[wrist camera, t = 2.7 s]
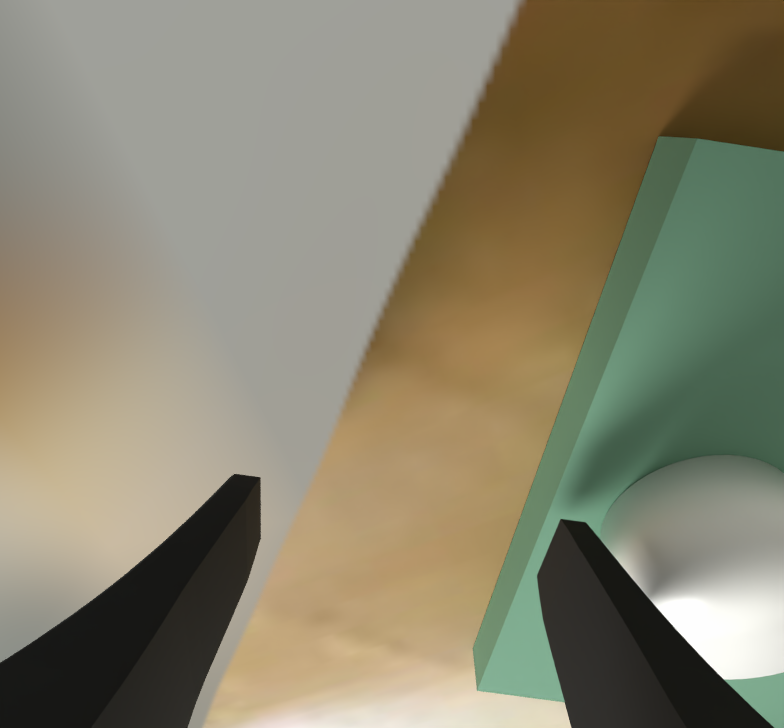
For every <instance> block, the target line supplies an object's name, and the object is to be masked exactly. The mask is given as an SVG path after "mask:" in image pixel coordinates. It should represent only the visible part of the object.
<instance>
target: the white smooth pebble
mask: <svg viewBox="0 0 784 728" xmlns="http://www.w3.org/2000/svg"><path fill="white" fill-rule="evenodd" d="M600 540H601V541H602V542H603V543H604V545H605V546H606V547H607V548H608V550H609V551H610V552H611V553H612V555H613V556H614V557H615V558H616V559H617V561H618V562H619V563H620V564H621V566H622V567H623V568H624V569H625V570H626V572H627V573H628V574H629V575H630V577H631V578H632V579H633V580H634V581H635V583H636V584H637V585H638V586H639V587H640V589H641V590H642V591H643V592H644V593H645V594H646V596H647V597H648V598H649V599H650V600H651V601H652V603H653V604H654V605H655V606H656V607H657V608H658V610H659V611H660V612H661V613H662V614H663V615H664V616H665V617H666V619H667V620H668V621H669V622H670V623H671V624H672V625H673V627H674V628H675V629H676V630H677V631H678V632H679V633H680V634H681V635H682V636H683V637H684V638H685V640H686V641H687V642H688V643H689V644H690V645H691V646H692V647H693V648H694V649H695V650H696V651H697V652H698V654H699V655H700V656H701V657H702V658H703V659H704V660H705V661H706V662H707V663H708V664H709V665H710V666H711V667H712V668H713V669H714V670H715V671H716V672H717V673H718V674H719V675H720V676H721V677H722V678H723V679H727V680H732V679H748V678H757V677H764V676H769V675H775V674H779V673H783V672H784V473H783V472H781V471H780V470H779V469H777V468H776V467H774V466H772V465H770V464H768V463H766V462H763V461H760V460H757V459H754V458H749V457H745V456H736V455H711V456H702V457H696V458H691V459H687V460H683V461H680V462H676V463H673V464H671V465H668V466H665V467H663V468H660V469H658V470H656V471H654V472H652V473H650V474H648V475H647V476H645V477H643V478H642V479H640V480H639V481H637V482H636V483H634V484H633V485H632V486H630V487H629V488H628V489H627V490H626V491H625V492H624V493H623V494H621V495H620V496H619V497H618V499H617V500H616V501H615V502H614V503H613V505H612V506H611V508H610V509H609V511H608V512H607V514H606V516H605V519H604V521H603V523H602V527H601V532H600Z"/></svg>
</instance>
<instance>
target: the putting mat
mask: <svg viewBox="0 0 784 728" xmlns="http://www.w3.org/2000/svg"><path fill="white" fill-rule="evenodd" d="M711 455H736V456H745V457H749V458H754V459H757V460H760V461H763V462H766V463H768V464H770V465H772V466H774V467H776V468H777V469H779V470H780V471H781V472H783V473H784V152H783V151H776V150H770V149H763V148H756V147H750V146H743V145H737V144H730V143H724V142H717V141H710V140H704V139H697V138H680V137H662V136H659V137H658V140H657V143H656V145H655V148H654V151H653V154H652V156H651V159H650V162H649V165H648V167H647V170H646V173H645V176H644V178H643V181H642V184H641V187H640V189H639V192H638V195H637V198H636V200H635V203H634V206H633V209H632V211H631V214H630V217H629V220H628V222H627V225H626V228H625V231H624V234H623V236H622V239H621V242H620V245H619V247H618V250H617V253H616V256H615V258H614V261H613V264H612V267H611V269H610V272H609V275H608V278H607V280H606V283H605V286H604V289H603V291H602V294H601V297H600V300H599V302H598V305H597V308H596V311H595V313H594V316H593V319H592V322H591V324H590V327H589V330H588V333H587V335H586V338H585V341H584V344H583V346H582V349H581V352H580V355H579V358H578V360H577V363H576V366H575V369H574V371H573V374H572V377H571V380H570V382H569V385H568V388H567V391H566V393H565V396H564V399H563V402H562V404H561V407H560V410H559V413H558V415H557V418H556V421H555V424H554V426H553V429H552V432H551V435H550V437H549V440H548V443H547V446H546V448H545V451H544V454H543V457H542V459H541V462H540V465H539V468H538V470H537V473H536V476H535V479H534V482H533V484H532V487H531V490H530V493H529V495H528V498H527V501H526V504H525V506H524V509H523V512H522V515H521V517H520V520H519V523H518V526H517V528H516V531H515V534H514V537H513V539H512V542H511V545H510V548H509V550H508V553H507V556H506V559H505V561H504V564H503V567H502V570H501V572H500V575H499V578H498V581H497V583H496V586H495V589H494V592H493V594H492V597H491V600H490V603H489V606H488V608H487V611H486V614H485V617H484V619H483V622H482V625H481V628H480V630H479V633H478V636H477V639H476V641H475V644H474V647H473V655H474V665H475V675H476V684H477V691H483V692H491V693H499V694H506V695H514V696H521V697H529V698H536V699H544V700H552V701H559V702H565V701H564V698H563V694H562V690H561V686H560V683H559V679H558V675H557V672H556V668H555V664H554V661H553V657H552V653H551V649H550V645H549V641H548V638H547V634H546V630H545V626H544V622H543V616H542V610H541V604H540V597H539V589H538V582H537V574H538V572H539V569H540V567H541V565H542V562H543V560H544V557H545V555H546V553H547V550H548V548H549V545H550V543H551V541H552V538H553V536H554V533H555V531H556V529H557V526H558V524H559V521H560V519H566V520H573V521H581V522H586V523H587V524H588V525H589V527H590V528H591V529H592V530H593V531H594V532H595V534H596V535H597V536H598V537H599V539H600V532H601V527H602V523H603V521H604V519H605V516H606V514H607V512H608V511H609V509H610V508H611V506H612V505H613V503H614V502H615V501H616V500H617V499H618V497H619V496H620V495H621V494H623V493H624V492H625V491H626V490H627V489H628V488H629V487H630V486H632V485H633V484H634V483H636V482H637V481H639V480H640V479H642V478H643V477H645V476H647V475H648V474H650V473H652V472H654V471H656V470H658V469H660V468H663V467H665V466H668V465H671V464H673V463H676V462H680V461H683V460H687V459H691V458H696V457H702V456H711ZM724 680H725V681H726V682H727V683H728V684H729V685H730V686H731V687H732V688H733V689H734V690H735V691H736V692H737V693H738V694H739V695H740V696H741V697H742V698H743V699H744V700H745V701H747V702H748V703H749V704H750V705H751V706H752V707H753V708H754V709H755V710H756V711H757V712H758V713H759V714H760V715H761V716H762V717H763V718H765V719H766V720H767V721H768V722H769V723H770V724H771V725H772V726H773V727H774V728H784V672H783V673H779V674H775V675H769V676H764V677H757V678H748V679H732V680H727V679H724Z"/></svg>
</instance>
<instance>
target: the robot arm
mask: <svg viewBox="0 0 784 728" xmlns="http://www.w3.org/2000/svg"><path fill="white" fill-rule="evenodd" d="M260 502H261V501H260V477H254V476H246V475H239V474H234V475H233V476H231V477H230V478H229V479H228V480H227V481H226V482H225V483H224V484H223V485H222V486H221V487H220V488H219V489H218V490H217V491H216V493H214V494H213V495H212V496H211V497H210V498H209V499H208V500H207V501H206V502H205V503H204V504H203V505H202V506H201V507H200V508H199V509H198V510H197V511H196V512H195V513H194V514H193V515H192V516H191V517H190V518H189V519H188V520H187V521H186V522H185V523H184V524H182V525H181V526H180V527H179V528H178V529H177V530H176V531H175V532H174V533H173V534H172V535H171V536H169V537H168V538H167V539H166V540H165V541H164V542H163V543H162V544H161V545H160V546H158V547H157V548H156V549H155V550H154V551H152V552H151V553H150V554H149V555H148V556H147V557H145V558H144V559H143V560H142V561H141V562H139V563H138V564H137V565H136V566H135V567H134V568H132V569H131V570H130V571H129V572H128V573H127V574H125V575H124V576H123V577H122V578H120V579H119V580H118V581H116V582H115V583H114V584H113V585H111V586H110V587H109V588H108V589H106V590H105V591H104V592H102V593H101V594H100V595H98V596H97V597H96V598H94V599H93V600H92V601H90V602H89V603H88V604H86V605H85V606H84V607H82V608H81V609H79V610H78V611H77V612H75V613H74V614H73V615H71V616H70V617H68V618H67V619H66V620H64V621H63V622H61V623H60V624H58V625H57V626H55V627H54V628H52V629H51V630H49V631H48V632H47V633H45V634H44V635H42V636H41V637H39V638H38V639H37V640H35V641H33V642H32V643H30V644H29V645H27V646H26V647H24V648H23V649H21V650H20V651H18V652H16V653H15V654H13V655H12V656H10V657H9V658H7V659H5V660H4V661H2V662H1V663H0V728H187V727H188V724H189V721H190V719H191V716H192V712H193V709H194V707H195V704H196V701H197V699H198V696H199V694H200V691H201V689H202V686H203V683H204V681H205V678H206V676H207V674H208V672H209V669H210V667H211V664H212V662H213V660H214V658H215V655H216V653H217V651H218V648H219V646H220V644H221V641H222V639H223V637H224V634H225V632H226V630H227V628H228V625H229V623H230V621H231V618H232V616H233V614H234V611H235V609H236V606H237V604H238V602H239V600H240V597H241V595H242V593H243V590H244V588H245V586H246V583H247V580H248V578H249V574H250V571H251V568H252V565H253V562H254V559H255V555H256V552H257V548H258V545H259V542H260V539H261V538H260V537H261V534H260V532H261V531H260V530H261V527H260V526H261V523H260V522H261V521H260V520H261V519H260V517H261V515H260V514H261V513H260V510H261V509H260V508H261V507H260V505H261V503H260ZM537 582H538V589H539V597H540V604H541V610H542V616H543V622H544V626H545V630H546V634H547V638H548V641H549V645H550V649H551V653H552V657H553V661H554V664H555V668H556V672H557V675H558V679H559V683H560V686H561V690H562V694H563V698H564V701H565V705H566V709H567V712H568V716H569V720H570V724H571V727H572V728H774V727H773V726H772V725H771V724H770V723H769V722H768V721H767V720H766V719H765V718H763V717H762V716H761V715H760V714H759V713H758V712H757V711H756V710H755V709H754V708H753V707H752V706H751V705H750V704H749V703H748V702H747V701H745V700H744V699H743V698H742V697H741V696H740V695H739V694H738V693H737V692H736V691H735V690H734V689H733V688H732V687H731V686H730V685H729V684H728V683H727V682H726V681H725V680H724V679H723V678H722V677H721V676H720V675H719V674H718V673H717V672H716V671H715V670H714V669H713V668H712V667H711V666H710V665H709V664H708V663H707V662H706V661H705V660H704V659H703V658H702V657H701V656H700V655H699V654H698V652H697V651H696V650H695V649H694V648H693V647H692V646H691V645H690V644H689V643H688V642H687V641H686V640H685V638H684V637H683V636H682V635H681V634H680V633H679V632H678V631H677V630H676V629H675V628H674V627H673V625H672V624H671V623H670V622H669V621H668V620H667V619H666V617H665V616H664V615H663V614H662V613H661V612H660V611H659V610H658V608H657V607H656V606H655V605H654V604H653V603H652V601H651V600H650V599H649V598H648V597H647V596H646V594H645V593H644V592H643V591H642V590H641V589H640V587H639V586H638V585H637V584H636V583H635V581H634V580H633V579H632V578H631V577H630V575H629V574H628V573H627V572H626V570H625V569H624V568H623V567H622V566H621V564H620V563H619V562H618V561H617V559H616V558H615V557H614V556H613V555H612V553H611V552H610V551H609V550H608V548H607V547H606V546H605V545H604V543H603V542H602V541H601V540H600V539H599V537H598V536H597V535H596V534H595V532H594V531H593V530H592V529H591V528H590V527H589V525H588V524H587V523H586V522H581V521H573V520H566V519H560V521H559V524H558V526H557V529H556V531H555V533H554V536H553V538H552V541H551V543H550V545H549V548H548V550H547V553H546V555H545V557H544V560H543V562H542V565H541V567H540V569H539V572H538V574H537Z"/></svg>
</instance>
